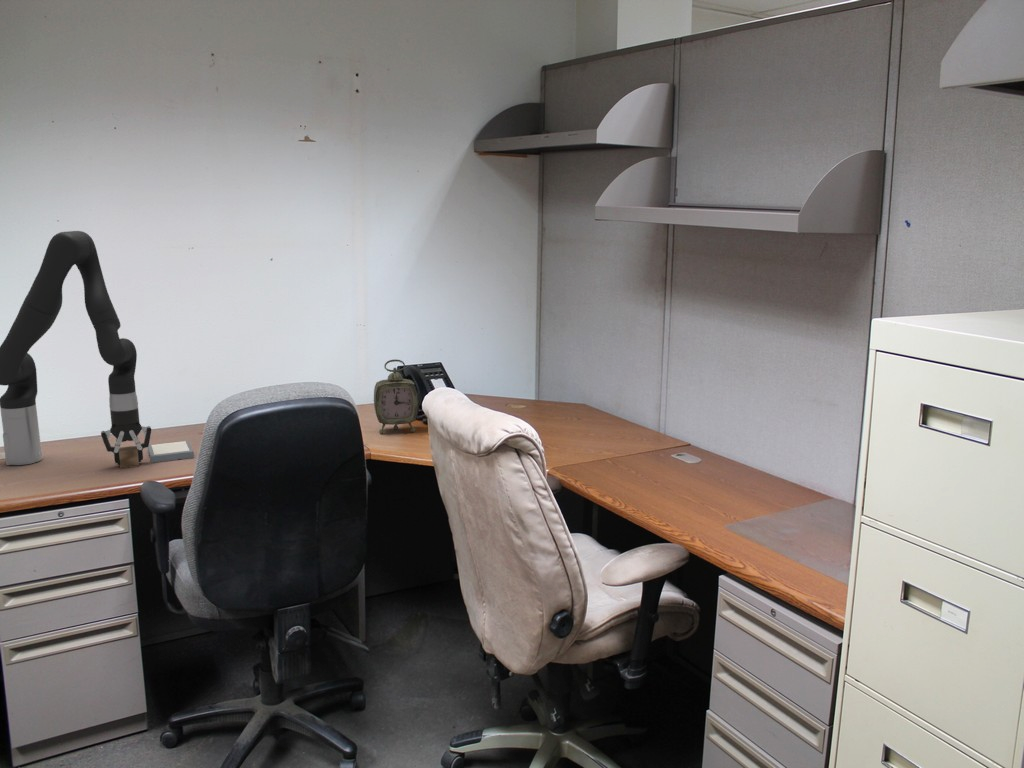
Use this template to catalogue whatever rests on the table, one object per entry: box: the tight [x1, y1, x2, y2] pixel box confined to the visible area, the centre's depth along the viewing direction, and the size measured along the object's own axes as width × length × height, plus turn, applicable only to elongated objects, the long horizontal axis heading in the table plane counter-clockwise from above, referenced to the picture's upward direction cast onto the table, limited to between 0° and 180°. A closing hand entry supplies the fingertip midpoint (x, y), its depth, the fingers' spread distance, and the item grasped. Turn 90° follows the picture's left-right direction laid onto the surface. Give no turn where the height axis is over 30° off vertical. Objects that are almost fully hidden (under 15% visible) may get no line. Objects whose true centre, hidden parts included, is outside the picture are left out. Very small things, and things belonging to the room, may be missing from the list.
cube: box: [119, 445, 140, 469], centre depth 249 cm, size 5×5×5 cm
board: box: [147, 440, 195, 463], centre depth 260 cm, size 12×14×2 cm
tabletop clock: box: [373, 359, 419, 435], centre depth 286 cm, size 14×9×25 cm, turn 104°
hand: (129, 462), depth 250 cm, fingers closed on cube, 5 cm apart
